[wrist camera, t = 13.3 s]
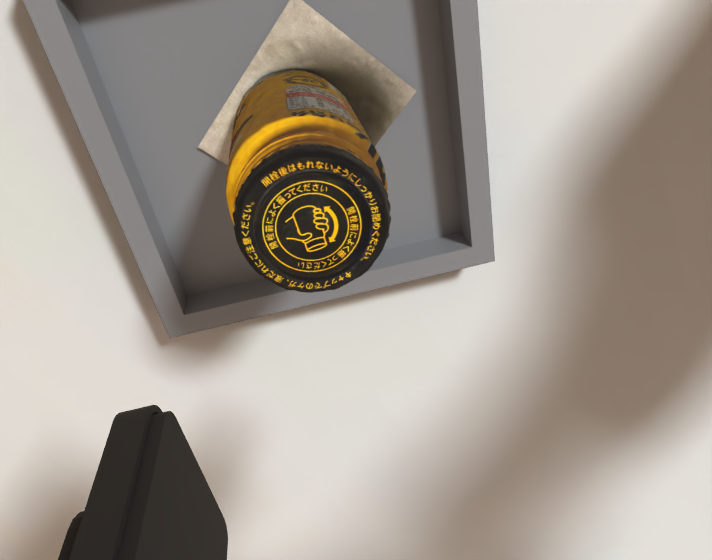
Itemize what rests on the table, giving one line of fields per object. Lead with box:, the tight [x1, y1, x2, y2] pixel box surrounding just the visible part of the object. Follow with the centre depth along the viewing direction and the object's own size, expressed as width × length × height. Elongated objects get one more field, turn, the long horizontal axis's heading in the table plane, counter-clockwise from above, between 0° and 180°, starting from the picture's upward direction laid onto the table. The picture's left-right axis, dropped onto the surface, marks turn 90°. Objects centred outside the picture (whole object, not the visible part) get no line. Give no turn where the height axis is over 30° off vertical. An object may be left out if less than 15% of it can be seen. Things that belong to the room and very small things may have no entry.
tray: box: [23, 0, 495, 338], centre depth 29 cm, size 18×18×2 cm
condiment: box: [198, 0, 416, 293], centre depth 24 cm, size 7×8×12 cm
